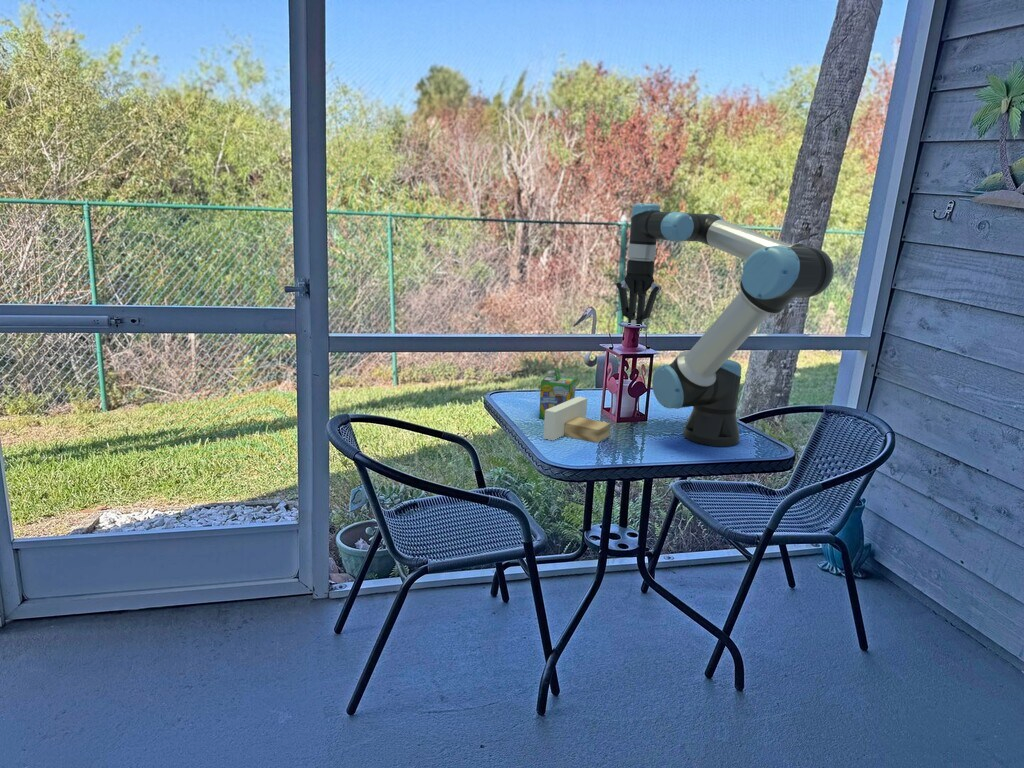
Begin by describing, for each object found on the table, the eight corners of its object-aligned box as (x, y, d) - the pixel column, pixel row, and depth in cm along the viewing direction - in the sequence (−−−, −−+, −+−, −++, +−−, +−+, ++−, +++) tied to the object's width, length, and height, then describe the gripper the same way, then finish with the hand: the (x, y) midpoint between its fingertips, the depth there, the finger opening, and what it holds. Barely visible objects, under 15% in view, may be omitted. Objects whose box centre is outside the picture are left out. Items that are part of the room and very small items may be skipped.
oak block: (609, 437, 205) (610, 423, 204) (597, 444, 198) (598, 430, 197) (576, 430, 209) (577, 416, 209) (564, 436, 203) (565, 422, 202)
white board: (585, 424, 214) (587, 398, 212) (552, 441, 197) (555, 412, 195) (576, 422, 216) (578, 396, 214) (543, 438, 199) (545, 410, 197)
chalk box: (568, 422, 215) (572, 373, 212) (538, 418, 218) (541, 370, 214) (574, 414, 224) (578, 367, 221) (545, 411, 226) (548, 364, 223)
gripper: (667, 261, 207) (659, 343, 213) (624, 257, 214) (617, 337, 219) (658, 261, 201) (650, 346, 206) (614, 258, 207) (607, 340, 213)
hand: (633, 342), depth 213 cm, fingers closed
